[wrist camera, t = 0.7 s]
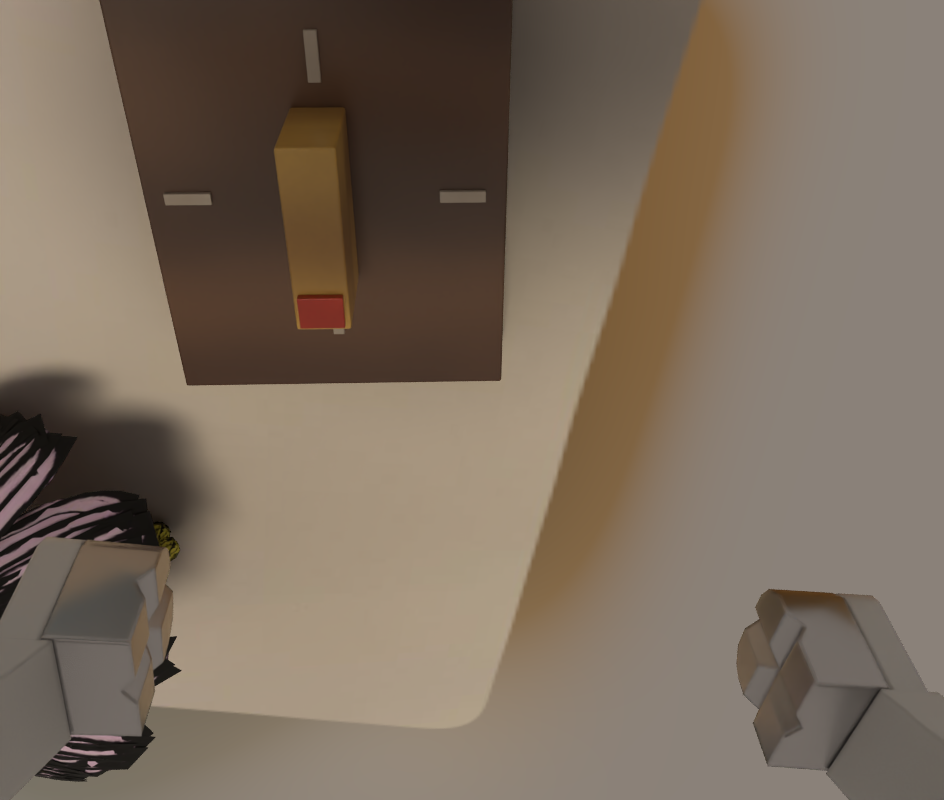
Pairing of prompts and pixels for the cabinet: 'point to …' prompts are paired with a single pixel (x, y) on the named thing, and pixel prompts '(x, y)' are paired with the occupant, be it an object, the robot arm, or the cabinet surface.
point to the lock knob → (318, 216)
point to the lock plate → (371, 166)
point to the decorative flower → (79, 517)
